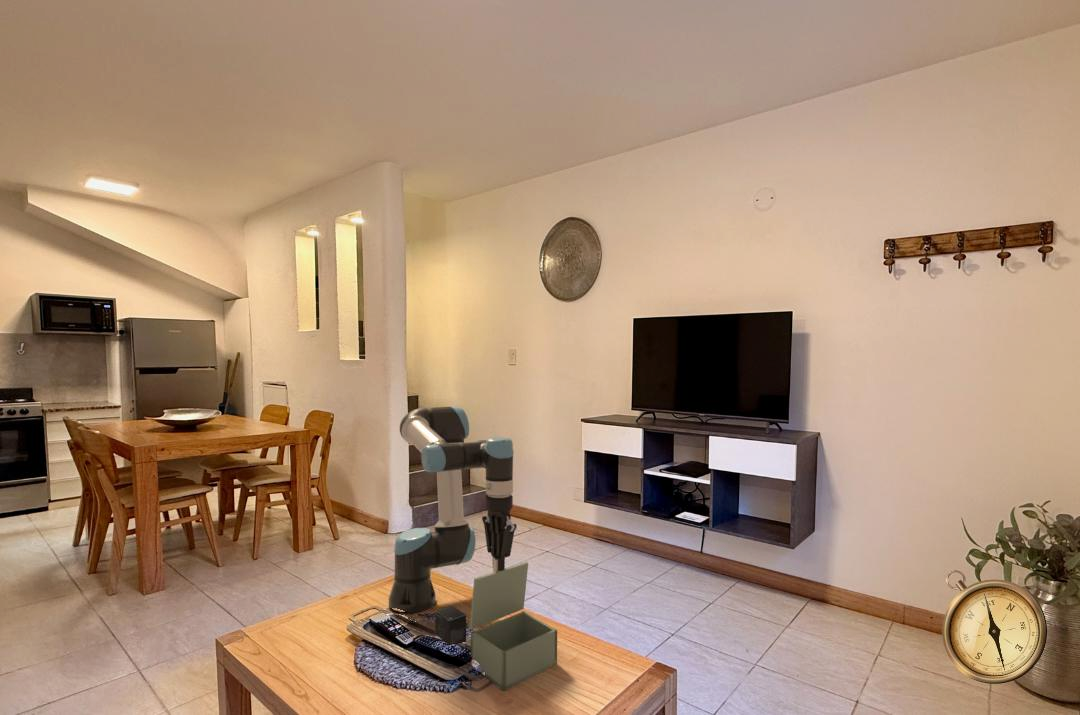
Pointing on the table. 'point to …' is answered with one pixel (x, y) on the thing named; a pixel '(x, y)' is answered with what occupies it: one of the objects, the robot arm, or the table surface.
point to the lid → (498, 594)
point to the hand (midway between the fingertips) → (498, 580)
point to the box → (450, 625)
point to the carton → (514, 649)
